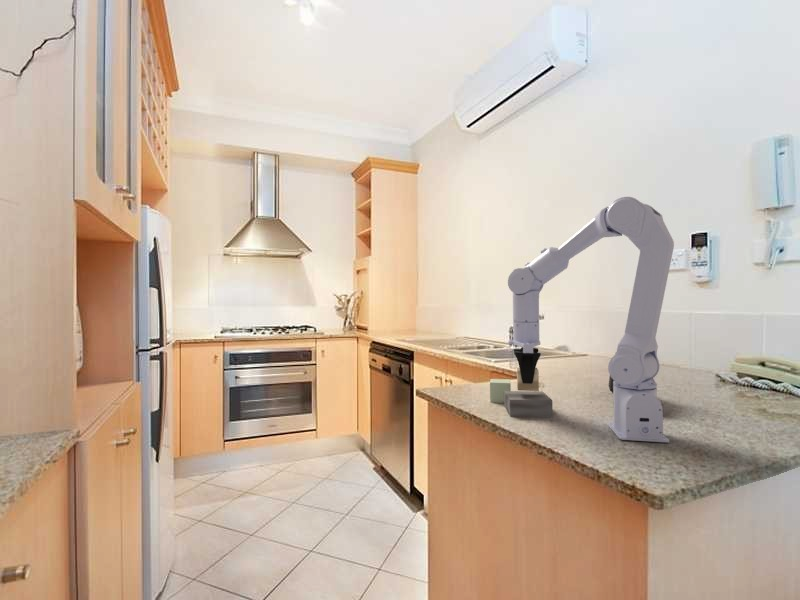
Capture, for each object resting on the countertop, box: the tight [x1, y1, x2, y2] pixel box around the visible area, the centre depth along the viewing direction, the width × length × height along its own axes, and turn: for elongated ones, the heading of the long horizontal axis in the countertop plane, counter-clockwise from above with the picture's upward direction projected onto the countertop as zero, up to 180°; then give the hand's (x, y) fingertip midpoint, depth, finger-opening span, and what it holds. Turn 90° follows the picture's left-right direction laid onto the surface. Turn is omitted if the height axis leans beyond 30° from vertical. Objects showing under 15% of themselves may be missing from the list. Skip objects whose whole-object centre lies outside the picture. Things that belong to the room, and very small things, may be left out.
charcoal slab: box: [503, 390, 554, 418], centre depth 95 cm, size 9×9×4 cm
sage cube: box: [489, 378, 512, 404], centre depth 107 cm, size 5×5×5 cm
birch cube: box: [516, 366, 540, 391], centre depth 95 cm, size 4×4×4 cm
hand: (526, 381), depth 95 cm, fingers closed on birch cube, 4 cm apart
